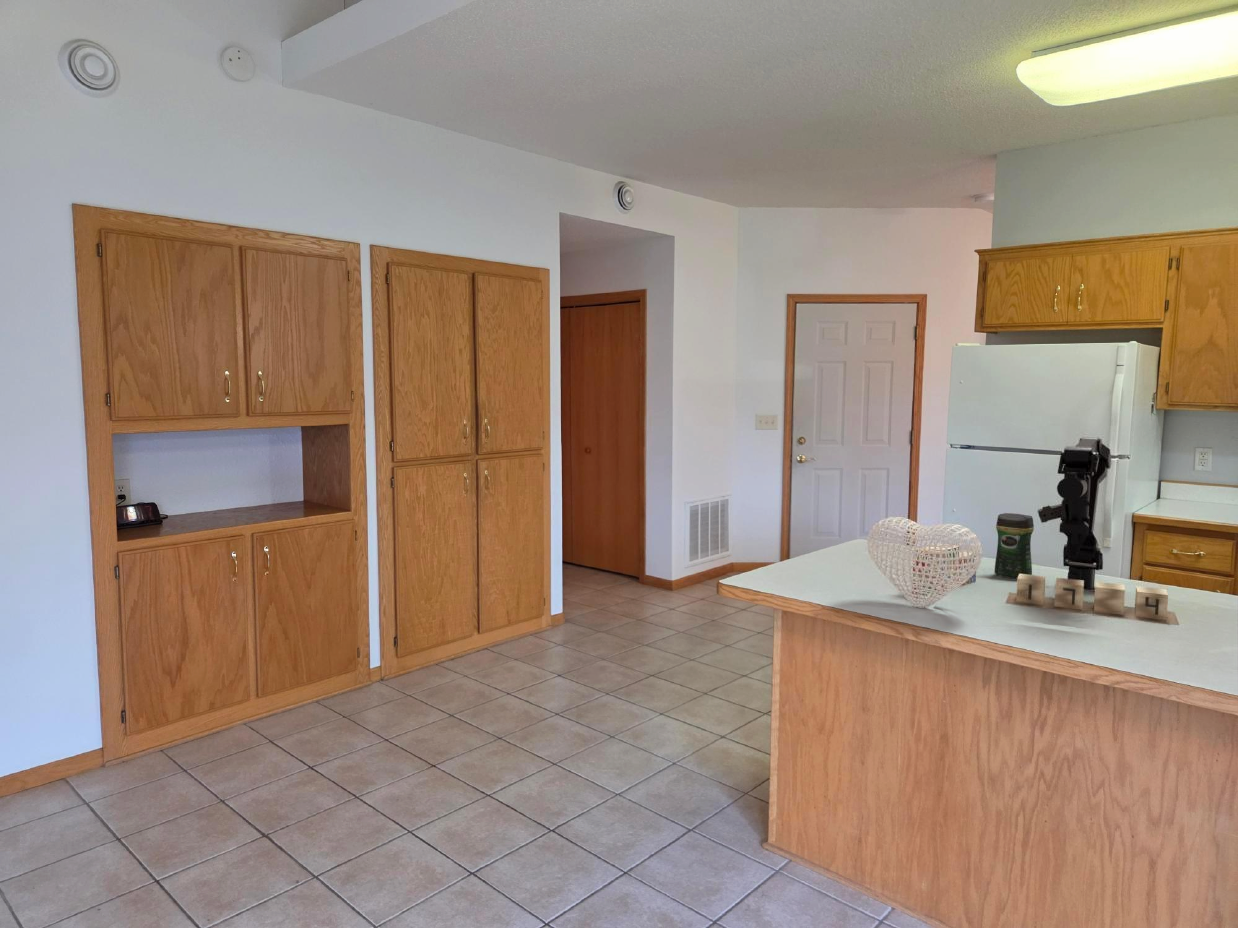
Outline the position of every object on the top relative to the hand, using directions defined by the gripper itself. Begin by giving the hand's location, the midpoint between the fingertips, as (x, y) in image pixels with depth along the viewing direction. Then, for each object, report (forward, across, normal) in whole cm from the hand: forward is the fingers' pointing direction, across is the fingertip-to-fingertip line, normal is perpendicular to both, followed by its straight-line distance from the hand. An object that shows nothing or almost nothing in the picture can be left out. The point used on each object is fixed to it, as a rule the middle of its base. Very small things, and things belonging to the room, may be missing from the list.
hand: (1073, 556), depth 202 cm
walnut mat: (+12, +8, +4) cm, 15 cm away
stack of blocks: (+12, +3, -30) cm, 33 cm away
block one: (+11, +8, -9) cm, 16 cm away
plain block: (+11, +8, +8) cm, 16 cm away
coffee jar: (+12, -23, -15) cm, 30 cm away
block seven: (+11, +8, 0) cm, 14 cm away
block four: (+11, +8, +17) cm, 22 cm away
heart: (+12, +26, -32) cm, 43 cm away
